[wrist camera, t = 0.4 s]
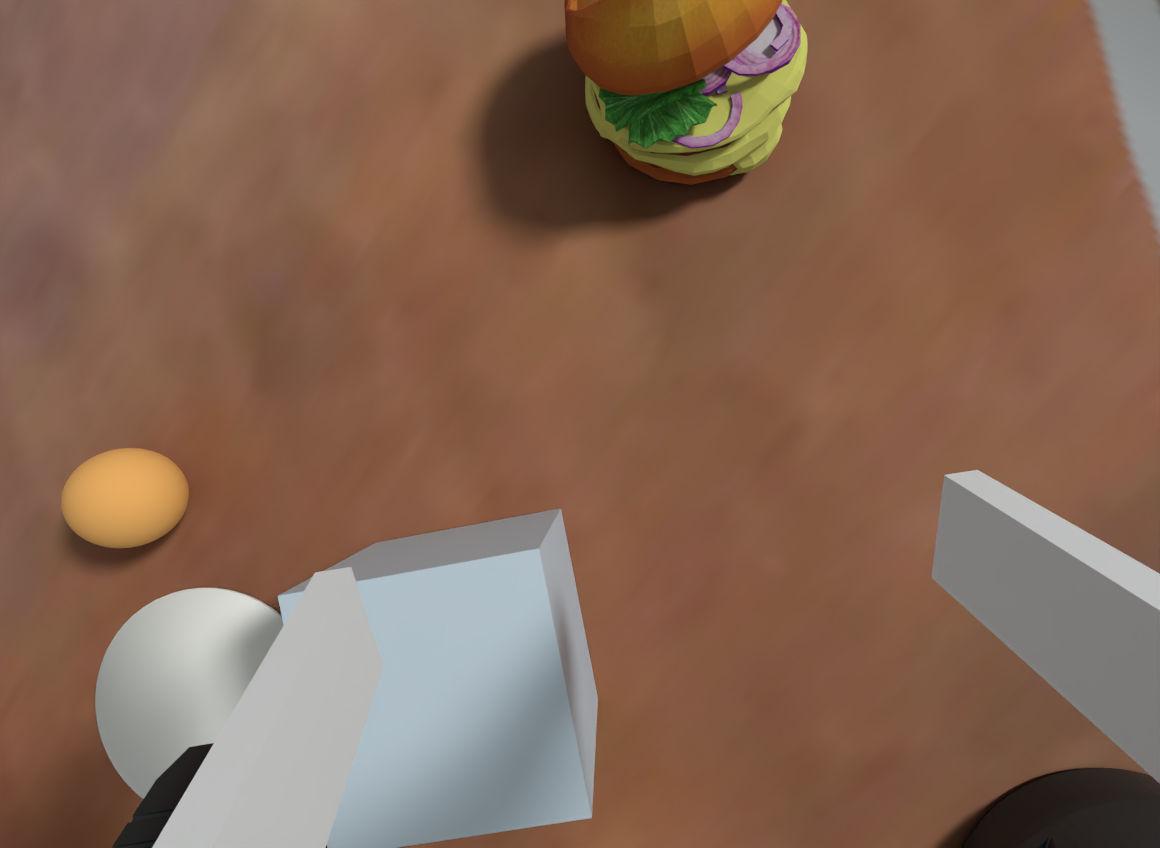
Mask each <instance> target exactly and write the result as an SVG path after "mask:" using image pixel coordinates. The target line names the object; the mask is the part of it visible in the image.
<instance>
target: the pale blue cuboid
mask: <svg viewBox="0 0 1160 848" xmlns="http://www.w3.org/2000/svg"><path fill="white" fill-rule="evenodd" d="M347 567H351V568H352V571H353V574H354V577H355V580H356V583H357V586H358V589H359V592H360V595H361V598H362V602H363V605H364V608H365V611H366V614H367V617H368V620H369V623H370V626H371V629H372V632H373V635H374V639H375V642H376V645H377V648H378V651H379V654H380V657H381V660H382V663H383V669H382V672H381V676H380V679H379V682H378V685H377V688H376V691H375V694H374V697H373V701H372V704H371V707H370V710H369V713H368V716H367V719H366V723H365V726H364V729H363V732H362V735H361V738H360V741H359V745H358V748H357V751H356V754H355V757H354V760H353V763H352V766H351V770H350V773H349V776H348V779H347V782H346V785H345V788H344V792H343V795H342V798H341V801H340V804H339V807H338V810H337V814H336V817H335V820H334V823H333V826H332V829H331V832H330V835H329V839H328V842H327V847H328V848H397V847H403V846H410V845H416V844H423V843H430V842H436V841H443V840H449V839H456V838H463V837H469V836H476V835H482V834H489V833H496V832H502V831H509V830H515V829H522V828H529V827H535V826H542V825H548V824H555V823H562V822H568V821H575V820H581V819H588V818H592V803H593V783H594V764H595V744H596V725H597V705H598V696H597V691H596V686H595V681H594V676H593V670H592V665H591V660H590V655H589V650H588V645H587V640H586V635H585V630H584V624H583V619H582V614H581V609H580V604H579V599H578V594H577V589H576V583H575V578H574V573H573V568H572V563H571V558H570V553H569V548H568V543H567V537H566V532H565V527H564V522H563V517H562V512H561V509H555V510H550V511H544V512H539V513H534V514H528V515H523V516H518V517H512V518H507V519H501V520H496V521H491V522H485V523H480V524H475V525H469V526H464V527H458V528H453V529H448V530H442V531H437V532H431V533H426V534H421V535H415V536H410V537H405V538H399V539H394V540H388V541H383V542H378V543H374V544H373V545H371V546H369V547H367V548H365V549H363V550H361V551H360V552H358V553H356V554H354V555H352V556H350V557H349V558H347V559H345V560H343V561H341V562H339V563H337V564H336V565H334V566H332V567H330V568H328V569H326V570H325V571H328V570H334V569H341V568H347ZM311 579H312V578H310V579H308V580H306V581H304V582H302V583H301V584H299V585H297V586H295V587H293V588H291V589H289V590H288V591H286V592H284V593H282V594H280V595H278V600H279V605H280V610H281V615H282V620H283V625H284V624H285V622H286V621H287V619H288V617H289V616H290V614H291V612H292V611H293V609H294V607H295V606H296V604H297V602H298V601H299V599H300V597H301V595H302V594H303V592H304V590H305V589H306V587H307V585H308V584H309V582H310V580H311Z"/></svg>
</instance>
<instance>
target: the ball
mask: <svg viewBox="0 0 1160 848" xmlns="http://www.w3.org/2000/svg"><path fill="white" fill-rule="evenodd" d="M188 501H189V487H188V483H187V480H186V478H185V476H184V474H183V472H182V471H181V470H180V468H179V467H178V466H177V465H176V464H175V463H174V462H172V461H171V460H170V459H168V458H167V457H165V456H163V455H161V454H159V453H156V452H153V451H150V450H145V449H139V448H122V449H115V450H110V451H107V452H104V453H101V454H98V455H96V456H94V457H92V458H90V459H89V460H87V461H85V462H84V463H83V464H81V465H80V466H79V467H78V468H77V469H76V470H75V471H74V472H73V473H72V474H71V476H70V477H69V478H68V480H67V482H66V484H65V486H64V489H63V492H62V497H61V507H62V512H63V516H64V518H65V520H66V522H67V524H68V525H69V526H70V528H71V529H72V530H73V531H74V532H75V533H76V534H77V535H79V536H80V537H82V538H83V539H85V540H87V541H89V542H91V543H93V544H96V545H100V546H103V547H109V548H130V547H136V546H141V545H144V544H147V543H150V542H152V541H155V540H157V539H158V538H160V537H162V536H164V535H165V534H166V533H168V532H169V531H170V530H171V529H173V528H174V527H175V526H176V525H177V523H178V522H179V521H180V519H181V518H182V517H183V515H184V513H185V510H186V508H187V505H188Z"/></svg>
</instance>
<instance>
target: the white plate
mask: <svg viewBox="0 0 1160 848" xmlns="http://www.w3.org/2000/svg"><path fill="white" fill-rule="evenodd" d="M283 626H284V625H283V620H282V615H281V614H280V613H278V612H277V611H276V610H275V609H273V608H272V607H270V606H268V605H267V604H265V603H264V602H262V601H260V600H258V599H256V598H254V597H251V596H249V595H247V594H244V593H240V592H237V591H234V590H229V589H223V588H213V587H200V588H191V589H185V590H181V591H178V592H174V593H171V594H169V595H166V596H164V597H161V598H159V599H157V600H155V601H153V602H151V603H150V604H148V605H146V606H144V607H143V608H142V609H141V610H139V611H138V612H137V613H135V614H134V615H133V616H132V617H131V618H130V619H129V620H128V621H127V622H126V623H125V624H124V625H123V626H122V627H121V629H120V630H119V631H118V633H117V634H116V635H115V637H114V638H113V640H112V642H111V643H110V645H109V647H108V649H107V651H106V653H105V656H104V658H103V661H102V663H101V666H100V670H99V674H98V678H97V685H96V694H95V708H96V717H97V725H98V729H99V733H100V736H101V740H102V743H103V745H104V748H105V750H106V753H107V755H108V757H109V759H110V760H111V762H112V764H113V766H114V768H115V769H116V770H117V772H118V773H119V775H120V776H121V777H122V779H123V780H124V781H125V782H126V783H127V784H128V786H129V787H130V788H131V789H132V790H133V791H134V792H135V793H136V794H138V795H139V796H140V797H141V798H142V799H144V798H145V796H146V795H147V793H148V792H149V790H150V789H151V787H152V786H153V784H154V782H155V781H156V779H157V778H158V777H160V776H161V775H162V774H163V773H164V772H165V771H166V770H167V769H168V768H169V767H170V766H171V765H172V764H173V763H174V762H175V761H176V760H177V759H178V758H179V757H180V756H181V755H182V754H183V753H184V752H185V751H186V750H187V749H188V748H189V747H193V746H199V745H205V744H211V743H214V742H215V741H216V739H217V737H218V736H219V734H220V732H221V731H222V729H223V727H224V725H225V724H226V722H227V720H228V719H229V717H230V715H231V714H232V712H233V710H234V709H235V707H236V705H237V704H238V702H239V700H240V698H241V697H242V695H243V693H244V692H245V690H246V688H247V687H248V685H249V683H250V682H251V680H252V678H253V677H254V675H255V673H256V671H257V670H258V668H259V666H260V665H261V663H262V661H263V660H264V658H265V656H266V655H267V653H268V651H269V650H270V648H271V646H272V644H273V643H274V641H275V639H276V638H277V636H278V634H279V633H280V631H281V629H282V628H283Z"/></svg>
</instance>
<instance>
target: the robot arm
mask: <svg viewBox="0 0 1160 848" xmlns="http://www.w3.org/2000/svg"><path fill="white" fill-rule="evenodd" d="M931 578H933V579H934V580H935V581H936V582H937V583H938V584H939V585H940V586H941V587H942V588H944V589H945V590H946V591H947V592H948V593H949V594H950V595H951V596H952V597H954V598H955V599H956V600H957V601H958V602H959V603H960V604H961V605H962V606H964V607H965V608H966V609H967V610H968V611H969V612H970V613H971V614H972V615H974V616H975V617H976V618H977V619H978V620H979V621H980V622H981V623H982V624H983V625H985V626H986V627H987V628H988V629H989V630H990V631H991V632H992V633H993V634H995V635H996V636H997V637H998V638H999V639H1000V640H1001V641H1002V642H1003V643H1005V644H1006V645H1007V646H1008V647H1009V648H1010V649H1011V650H1012V651H1013V652H1015V653H1016V654H1017V655H1018V656H1019V657H1020V658H1021V659H1022V660H1023V661H1024V662H1026V663H1027V664H1028V665H1029V666H1030V667H1031V668H1032V669H1033V670H1034V671H1036V672H1037V673H1038V674H1039V675H1040V676H1041V677H1042V678H1043V679H1044V680H1046V681H1047V682H1048V683H1049V684H1050V685H1051V686H1052V687H1053V688H1054V689H1056V690H1057V691H1058V692H1059V693H1060V694H1061V695H1062V696H1063V697H1064V698H1065V699H1067V700H1068V701H1069V702H1070V703H1071V704H1072V705H1073V706H1074V707H1075V708H1077V709H1078V710H1079V711H1080V712H1081V713H1082V714H1083V715H1084V716H1085V717H1087V718H1088V719H1089V720H1090V721H1091V722H1092V723H1093V724H1094V725H1095V726H1097V727H1098V728H1099V729H1100V730H1101V731H1102V732H1103V733H1104V734H1105V735H1106V736H1108V737H1109V738H1110V739H1111V740H1112V741H1113V742H1114V743H1115V744H1116V745H1118V746H1119V747H1120V748H1121V749H1122V750H1123V751H1124V752H1125V753H1126V754H1128V755H1129V756H1130V757H1131V758H1132V759H1133V760H1134V761H1135V762H1136V763H1138V764H1139V765H1140V766H1141V767H1142V768H1143V769H1144V770H1145V771H1146V772H1148V773H1149V774H1150V775H1151V776H1149V775H1146V774H1142V773H1138V772H1134V771H1128V770H1122V769H1112V768H1087V769H1078V770H1071V771H1066V772H1061V773H1058V774H1054V775H1050V776H1047V777H1044V778H1042V779H1039V780H1037V781H1034V782H1032V783H1030V784H1028V785H1026V786H1024V787H1022V788H1020V789H1018V790H1017V791H1015V792H1014V793H1012V794H1010V795H1009V796H1008V797H1006V798H1005V799H1003V800H1002V801H1001V802H1000V803H998V804H997V805H996V806H995V807H994V808H993V809H992V810H990V811H989V812H988V813H987V814H986V815H985V816H984V818H983V819H982V820H981V821H980V822H979V823H978V825H977V826H976V827H975V829H974V830H973V831H972V833H971V834H970V836H969V837H968V839H967V840H966V842H965V844H964V846H963V848H1160V574H1159V573H1157V572H1155V571H1154V570H1152V569H1150V568H1148V567H1147V566H1145V565H1143V564H1141V563H1140V562H1138V561H1136V560H1134V559H1133V558H1131V557H1129V556H1127V555H1126V554H1124V553H1122V552H1120V551H1119V550H1117V549H1115V548H1113V547H1112V546H1110V545H1108V544H1106V543H1105V542H1103V541H1101V540H1099V539H1098V538H1096V537H1094V536H1092V535H1091V534H1089V533H1087V532H1085V531H1084V530H1082V529H1080V528H1078V527H1077V526H1075V525H1073V524H1071V523H1070V522H1068V521H1066V520H1064V519H1063V518H1061V517H1059V516H1057V515H1056V514H1054V513H1052V512H1050V511H1049V510H1047V509H1045V508H1043V507H1042V506H1040V505H1038V504H1036V503H1035V502H1033V501H1031V500H1029V499H1028V498H1026V497H1024V496H1022V495H1021V494H1019V493H1017V492H1015V491H1014V490H1012V489H1010V488H1008V487H1007V486H1005V485H1003V484H1001V483H999V482H998V481H996V480H994V479H992V478H991V477H989V476H987V475H985V474H984V473H982V472H980V471H978V470H974V471H967V472H961V473H954V474H948V475H944V481H943V489H942V497H941V505H940V513H939V521H938V529H937V537H936V545H935V553H934V561H933V569H932V577H931ZM382 669H383V663H382V660H381V657H380V654H379V651H378V648H377V645H376V642H375V639H374V635H373V632H372V629H371V626H370V623H369V620H368V617H367V614H366V611H365V608H364V605H363V602H362V598H361V595H360V592H359V589H358V586H357V583H356V580H355V577H354V574H353V571H352V568H351V567H347V568H341V569H334V570H328V571H321V572H315V574H314V575H313V577H312V579H311V580H310V582H309V584H308V585H307V587H306V589H305V590H304V592H303V594H302V595H301V597H300V599H299V601H298V602H297V604H296V606H295V607H294V609H293V611H292V612H291V614H290V616H289V617H288V619H287V621H286V622H285V624H284V626H283V628H282V629H281V631H280V633H279V634H278V636H277V638H276V639H275V641H274V643H273V644H272V646H271V648H270V650H269V651H268V653H267V655H266V656H265V658H264V660H263V661H262V663H261V665H260V666H259V668H258V670H257V671H256V673H255V675H254V677H253V678H252V680H251V682H250V683H249V685H248V687H247V688H246V690H245V692H244V693H243V695H242V697H241V698H240V700H239V702H238V704H237V705H236V707H235V709H234V710H233V712H232V714H231V715H230V717H229V719H228V720H227V722H226V724H225V725H224V727H223V729H222V731H221V732H220V734H219V736H218V737H217V739H216V741H215V742H214V743H211V744H205V745H199V746H193V747H189V748H188V749H187V750H186V751H185V752H184V753H183V754H182V755H181V756H180V757H179V758H178V759H177V760H176V761H175V762H174V763H173V764H172V765H171V766H170V767H169V768H168V769H167V770H166V771H165V772H164V773H163V774H162V775H161V776H160V777H158V778H157V779H156V781H155V782H154V784H153V786H152V787H151V789H150V790H149V792H148V793H147V795H146V796H145V798H144V799H143V801H142V802H141V804H140V805H139V807H138V808H137V810H136V811H135V813H134V814H133V820H132V822H131V823H128V824H127V825H126V827H125V828H124V830H123V831H122V833H121V834H120V836H119V837H118V839H117V840H116V842H115V843H114V845H113V846H112V847H113V848H326V845H327V842H328V839H329V835H330V832H331V829H332V826H333V823H334V820H335V817H336V814H337V810H338V807H339V804H340V801H341V798H342V795H343V792H344V788H345V785H346V782H347V779H348V776H349V773H350V770H351V766H352V763H353V760H354V757H355V754H356V751H357V748H358V745H359V741H360V738H361V735H362V732H363V729H364V726H365V723H366V719H367V716H368V713H369V710H370V707H371V704H372V701H373V697H374V694H375V691H376V688H377V685H378V682H379V679H380V676H381V672H382Z"/></svg>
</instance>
